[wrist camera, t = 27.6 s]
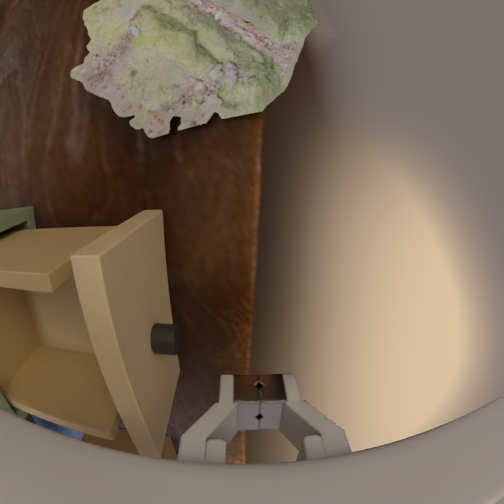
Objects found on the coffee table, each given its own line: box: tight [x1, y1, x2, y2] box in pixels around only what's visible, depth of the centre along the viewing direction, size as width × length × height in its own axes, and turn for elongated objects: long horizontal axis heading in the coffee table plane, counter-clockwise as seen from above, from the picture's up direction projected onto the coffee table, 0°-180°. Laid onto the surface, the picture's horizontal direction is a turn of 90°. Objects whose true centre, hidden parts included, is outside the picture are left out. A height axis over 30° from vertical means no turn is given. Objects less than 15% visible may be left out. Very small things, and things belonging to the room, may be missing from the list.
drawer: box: [0, 210, 180, 458], centre depth 13 cm, size 14×12×8 cm
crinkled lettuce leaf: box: [70, 0, 317, 138], centre depth 10 cm, size 16×8×15 cm
